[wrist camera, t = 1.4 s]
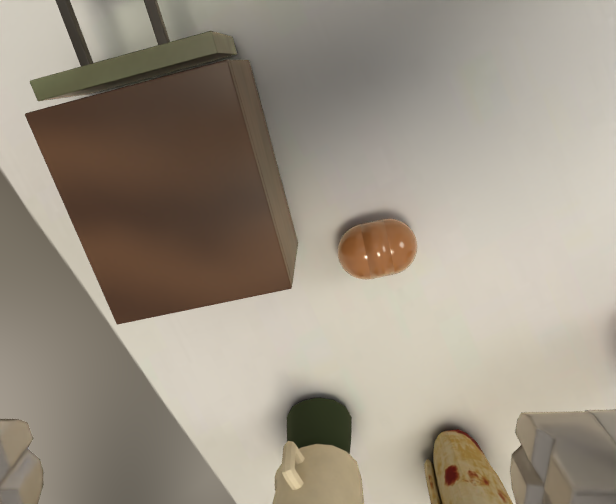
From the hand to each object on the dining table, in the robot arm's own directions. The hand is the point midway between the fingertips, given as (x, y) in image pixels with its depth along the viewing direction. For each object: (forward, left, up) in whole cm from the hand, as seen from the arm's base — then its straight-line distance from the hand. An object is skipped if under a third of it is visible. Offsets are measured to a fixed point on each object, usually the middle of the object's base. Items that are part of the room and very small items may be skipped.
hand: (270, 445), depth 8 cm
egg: (+6, +7, -29) cm, 30 cm away
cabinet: (+5, -8, -31) cm, 33 cm away
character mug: (+25, +8, -31) cm, 41 cm away
